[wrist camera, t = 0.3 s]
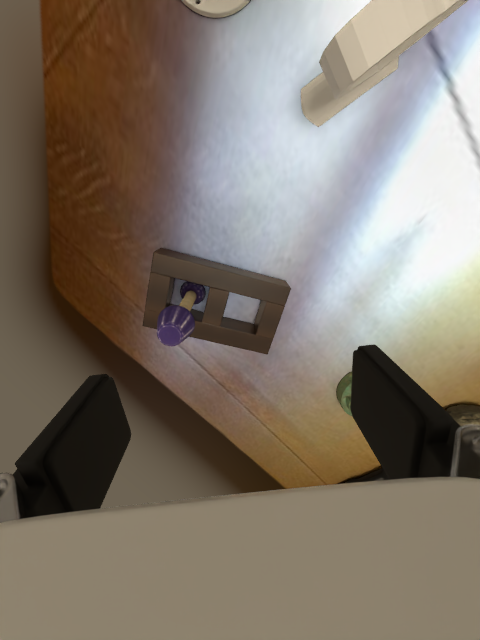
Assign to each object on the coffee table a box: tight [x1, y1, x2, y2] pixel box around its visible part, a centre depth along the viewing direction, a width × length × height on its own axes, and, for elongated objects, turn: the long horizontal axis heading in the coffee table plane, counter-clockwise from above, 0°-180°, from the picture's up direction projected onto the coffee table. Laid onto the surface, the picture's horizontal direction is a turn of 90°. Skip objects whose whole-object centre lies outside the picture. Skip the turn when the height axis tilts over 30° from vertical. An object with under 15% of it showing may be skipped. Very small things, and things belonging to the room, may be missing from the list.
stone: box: [446, 405, 480, 426], centre depth 58 cm, size 13×13×5 cm
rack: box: [143, 248, 291, 354], centre depth 45 cm, size 12×21×4 cm, turn 75°
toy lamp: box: [157, 281, 206, 346], centre depth 39 cm, size 5×5×17 cm
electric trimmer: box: [344, 468, 389, 484], centre depth 64 cm, size 4×16×3 cm, turn 121°
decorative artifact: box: [337, 372, 352, 416], centre depth 52 cm, size 10×7×10 cm
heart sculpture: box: [301, 0, 468, 127], centre depth 28 cm, size 16×5×18 cm, turn 124°
